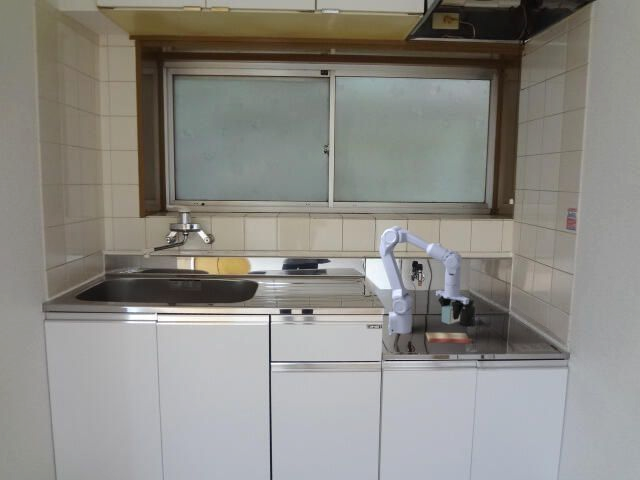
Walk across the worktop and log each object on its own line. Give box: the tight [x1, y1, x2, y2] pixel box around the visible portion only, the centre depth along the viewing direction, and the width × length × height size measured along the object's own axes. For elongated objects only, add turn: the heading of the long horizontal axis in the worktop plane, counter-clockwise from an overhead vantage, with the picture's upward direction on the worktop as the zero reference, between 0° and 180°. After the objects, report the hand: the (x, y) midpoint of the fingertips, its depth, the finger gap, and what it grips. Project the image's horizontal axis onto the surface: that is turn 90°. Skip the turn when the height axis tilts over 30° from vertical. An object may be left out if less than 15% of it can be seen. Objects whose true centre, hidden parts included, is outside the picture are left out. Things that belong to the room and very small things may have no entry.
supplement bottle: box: [457, 297, 477, 328], centre depth 191 cm, size 7×7×12 cm
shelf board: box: [425, 332, 473, 344], centre depth 177 cm, size 16×10×2 cm, turn 85°
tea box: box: [441, 303, 460, 325], centre depth 175 cm, size 4×6×6 cm
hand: (451, 317), depth 175 cm, fingers closed on tea box, 4 cm apart
